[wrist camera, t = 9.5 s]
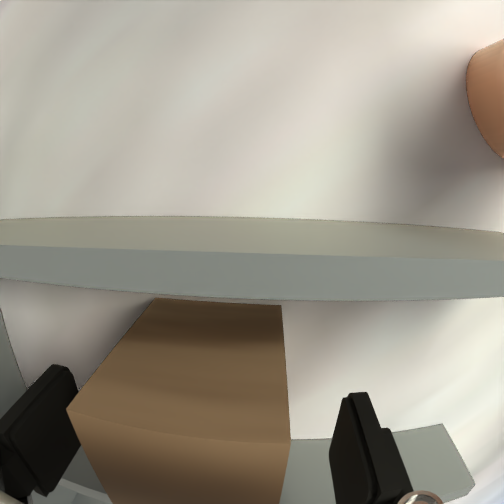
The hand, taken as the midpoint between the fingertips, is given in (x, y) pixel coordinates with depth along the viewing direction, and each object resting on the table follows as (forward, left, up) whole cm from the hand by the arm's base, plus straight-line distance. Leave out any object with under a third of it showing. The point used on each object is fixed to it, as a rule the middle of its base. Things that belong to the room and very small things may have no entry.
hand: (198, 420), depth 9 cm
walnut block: (0, 0, -4) cm, 4 cm away
